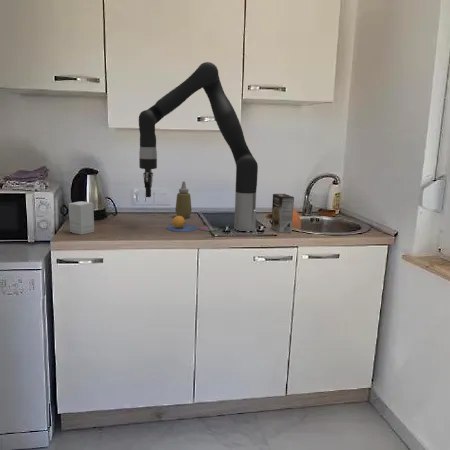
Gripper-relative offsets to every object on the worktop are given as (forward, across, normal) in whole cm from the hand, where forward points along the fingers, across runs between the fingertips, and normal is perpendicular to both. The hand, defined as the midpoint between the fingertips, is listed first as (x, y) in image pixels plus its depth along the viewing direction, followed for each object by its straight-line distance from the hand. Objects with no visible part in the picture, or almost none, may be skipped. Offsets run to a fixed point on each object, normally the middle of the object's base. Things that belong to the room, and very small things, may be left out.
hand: (148, 196), depth 209 cm
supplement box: (+14, -10, +27) cm, 32 cm away
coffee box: (+14, -1, -60) cm, 62 cm away
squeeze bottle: (+14, +24, -15) cm, 32 cm away
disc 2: (+14, 0, -27) cm, 30 cm away
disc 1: (+14, 0, -15) cm, 21 cm away
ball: (+11, 0, -14) cm, 18 cm away
